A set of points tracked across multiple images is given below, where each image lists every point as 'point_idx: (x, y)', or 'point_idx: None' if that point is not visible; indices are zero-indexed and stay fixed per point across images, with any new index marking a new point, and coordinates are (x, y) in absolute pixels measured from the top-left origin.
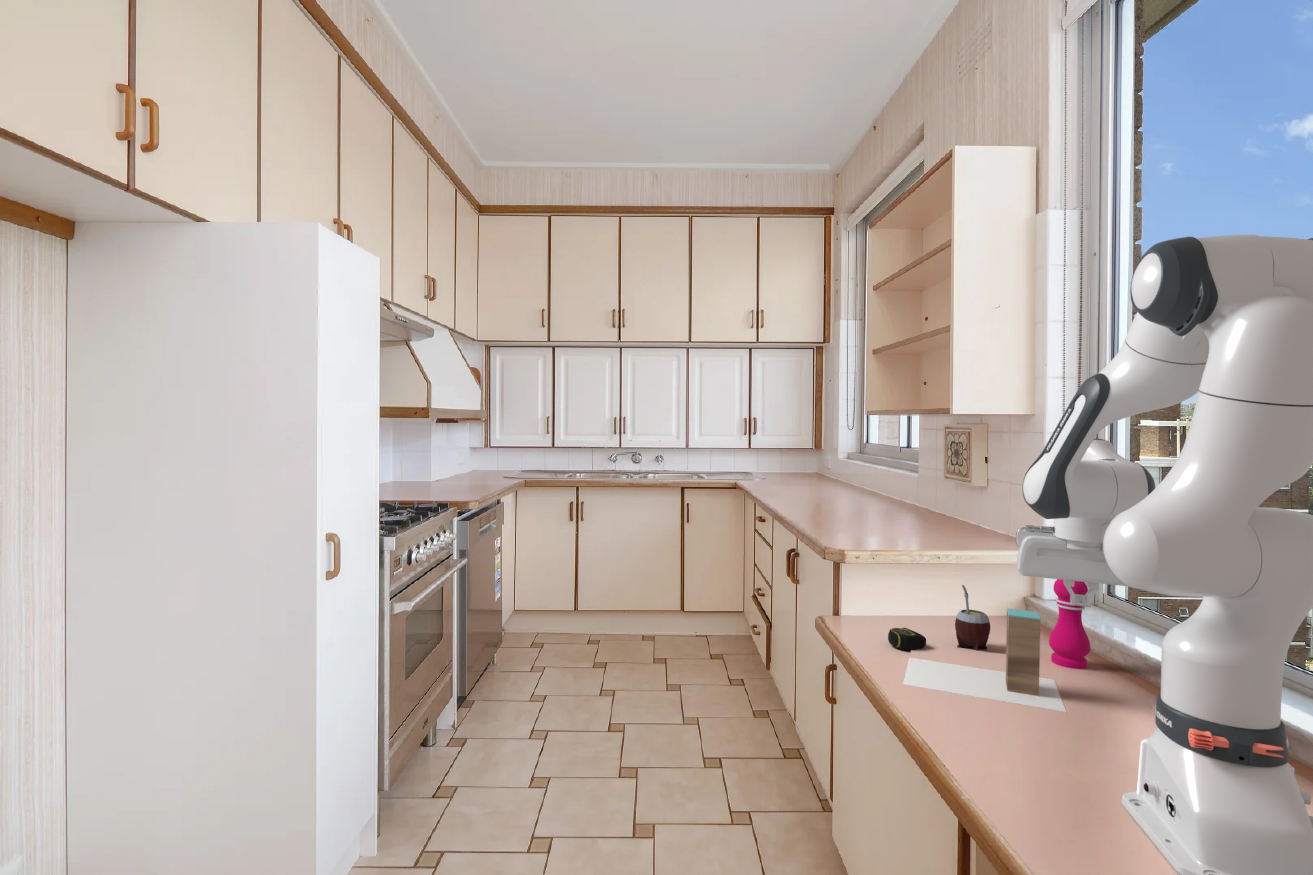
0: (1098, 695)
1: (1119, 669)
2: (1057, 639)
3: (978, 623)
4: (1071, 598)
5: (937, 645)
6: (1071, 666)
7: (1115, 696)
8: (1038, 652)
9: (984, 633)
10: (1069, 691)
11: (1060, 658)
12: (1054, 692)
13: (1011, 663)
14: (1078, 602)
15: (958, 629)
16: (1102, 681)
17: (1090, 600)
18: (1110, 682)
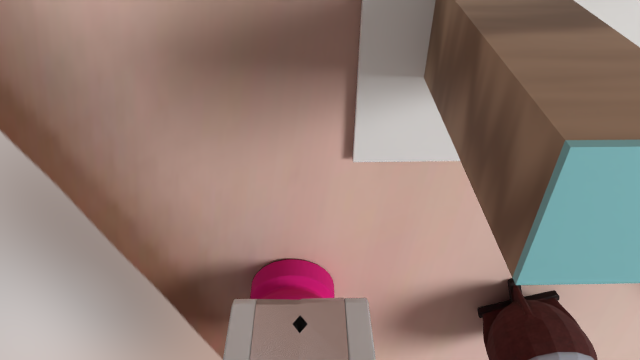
0: (238, 107)
1: (179, 306)
2: None
3: (547, 353)
4: (372, 346)
5: (609, 288)
6: (291, 266)
7: (192, 122)
8: (496, 45)
9: (515, 330)
10: (319, 101)
11: (316, 286)
12: (374, 47)
13: (582, 16)
14: (320, 316)
15: (584, 333)
16: (221, 218)
17: (229, 343)
18: (202, 220)
